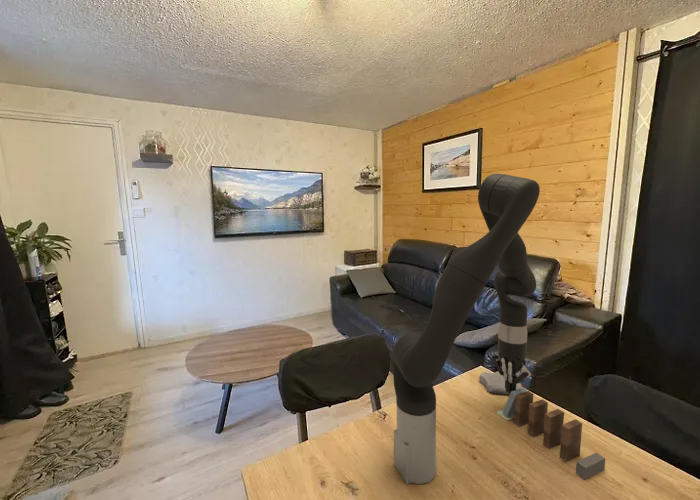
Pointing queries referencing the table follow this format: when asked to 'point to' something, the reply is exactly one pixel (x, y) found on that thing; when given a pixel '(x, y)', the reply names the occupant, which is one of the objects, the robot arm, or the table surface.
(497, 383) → the stone block
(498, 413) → the pad
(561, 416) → the domino
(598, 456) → the block
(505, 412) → the domino
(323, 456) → the table surface
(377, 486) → the table surface
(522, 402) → the domino
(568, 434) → the domino
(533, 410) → the domino
